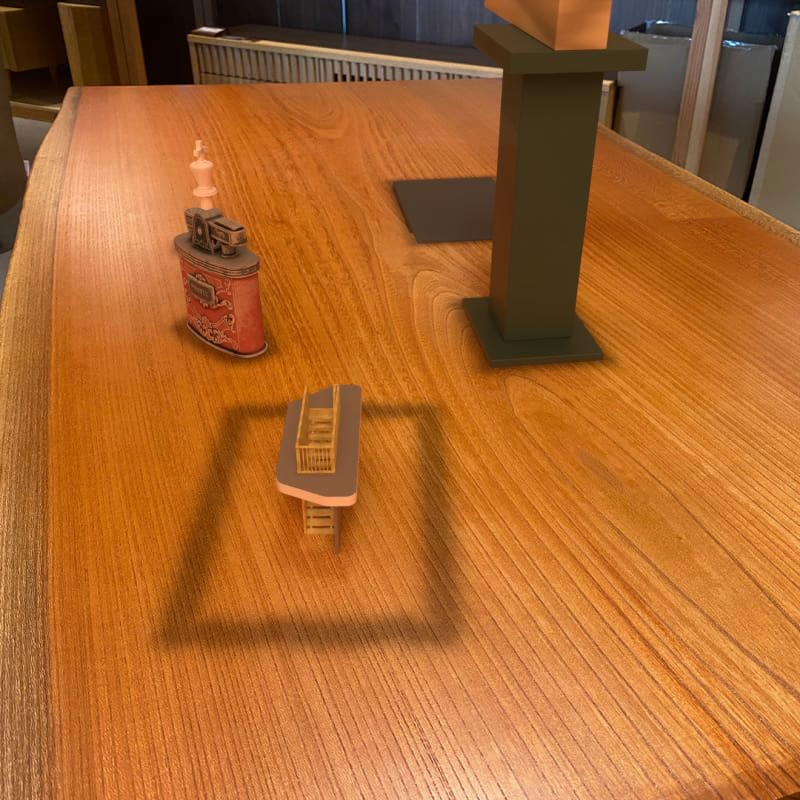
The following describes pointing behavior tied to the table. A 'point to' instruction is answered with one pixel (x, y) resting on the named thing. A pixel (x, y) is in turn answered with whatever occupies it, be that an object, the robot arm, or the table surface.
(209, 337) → the lighter
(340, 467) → the platform
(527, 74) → the stand
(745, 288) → the table surface
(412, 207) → the mat
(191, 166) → the chess piece
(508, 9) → the ash bar
